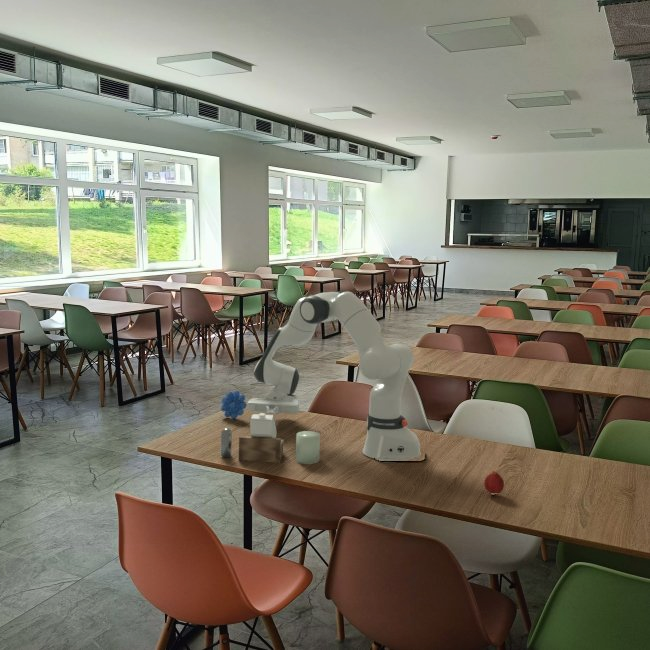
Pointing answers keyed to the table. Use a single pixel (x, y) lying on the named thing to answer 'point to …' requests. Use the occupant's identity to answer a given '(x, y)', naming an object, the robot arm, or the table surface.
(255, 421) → the milk carton
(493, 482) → the onion
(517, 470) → the table surface
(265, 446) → the walnut holder
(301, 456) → the sage mug
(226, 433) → the grey shaker
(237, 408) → the grapes
